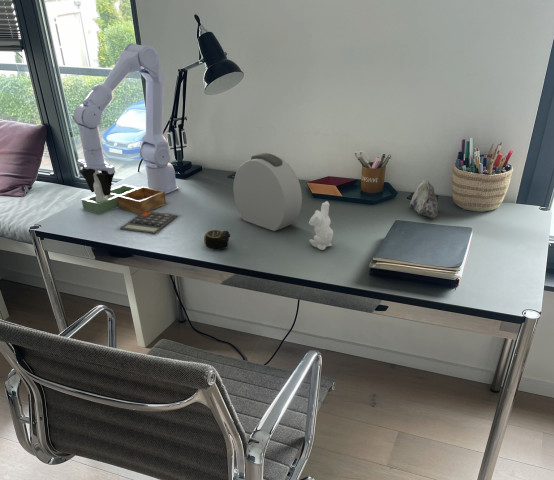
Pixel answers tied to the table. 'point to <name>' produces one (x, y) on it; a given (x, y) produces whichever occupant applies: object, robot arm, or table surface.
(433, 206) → the mineral rock
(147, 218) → the calculator
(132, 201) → the open wooden box
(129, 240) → the table surface
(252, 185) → the alarm clock
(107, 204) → the green divided tray
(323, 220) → the white bunny figurine
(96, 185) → the eye dropper bottle
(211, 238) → the tape measure
